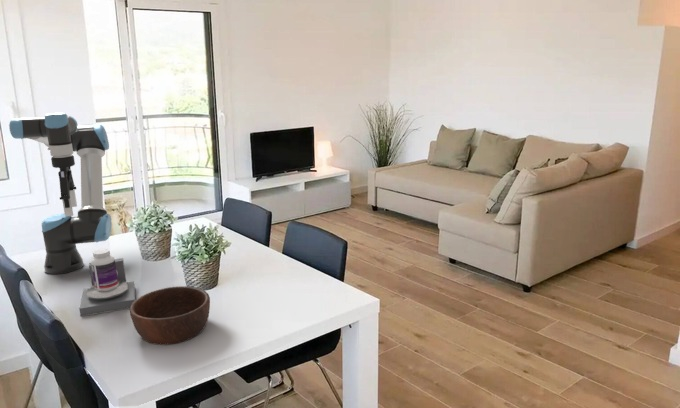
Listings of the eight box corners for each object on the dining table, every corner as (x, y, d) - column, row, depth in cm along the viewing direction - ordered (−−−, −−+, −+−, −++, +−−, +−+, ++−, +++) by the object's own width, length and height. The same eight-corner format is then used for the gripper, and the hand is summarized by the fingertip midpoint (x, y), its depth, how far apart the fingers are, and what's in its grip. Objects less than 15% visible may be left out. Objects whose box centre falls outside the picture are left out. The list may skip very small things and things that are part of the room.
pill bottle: (123, 285, 200) (118, 248, 197) (108, 293, 193) (102, 256, 189) (106, 282, 203) (100, 246, 199) (90, 291, 196) (84, 254, 192)
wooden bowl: (219, 311, 189) (216, 284, 187) (203, 348, 165) (200, 318, 163) (147, 313, 189) (144, 286, 186) (121, 351, 165) (117, 321, 162)
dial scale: (85, 292, 207) (80, 263, 204) (135, 285, 213) (131, 257, 210) (80, 316, 188) (75, 284, 185) (135, 307, 194) (130, 276, 191)
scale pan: (89, 289, 203) (88, 284, 202) (128, 283, 207) (127, 278, 207) (85, 304, 190) (85, 299, 189) (128, 298, 194) (127, 292, 194)
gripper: (55, 151, 208) (64, 204, 213) (45, 162, 185) (55, 221, 191) (76, 149, 210) (84, 202, 216) (69, 160, 187) (79, 218, 193)
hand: (71, 211), depth 203 cm, fingers open, 13 cm apart
